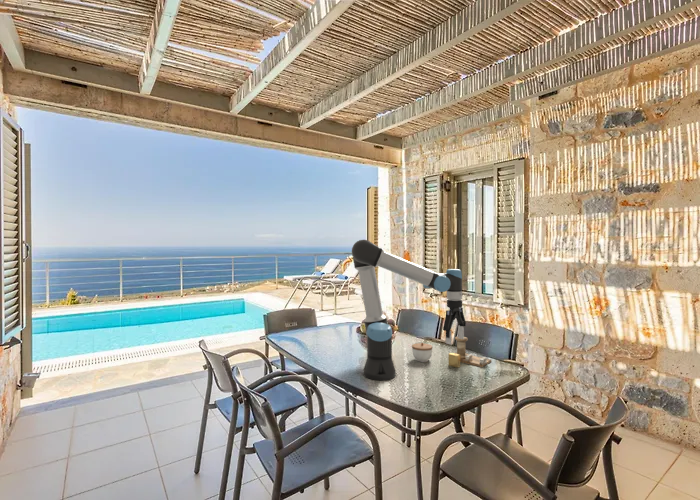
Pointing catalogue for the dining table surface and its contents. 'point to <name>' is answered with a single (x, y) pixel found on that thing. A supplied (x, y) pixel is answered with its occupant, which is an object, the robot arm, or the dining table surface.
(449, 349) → the dining table surface
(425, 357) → the lidded jar
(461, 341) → the bobbin
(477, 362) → the board
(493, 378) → the dining table surface
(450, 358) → the tab
